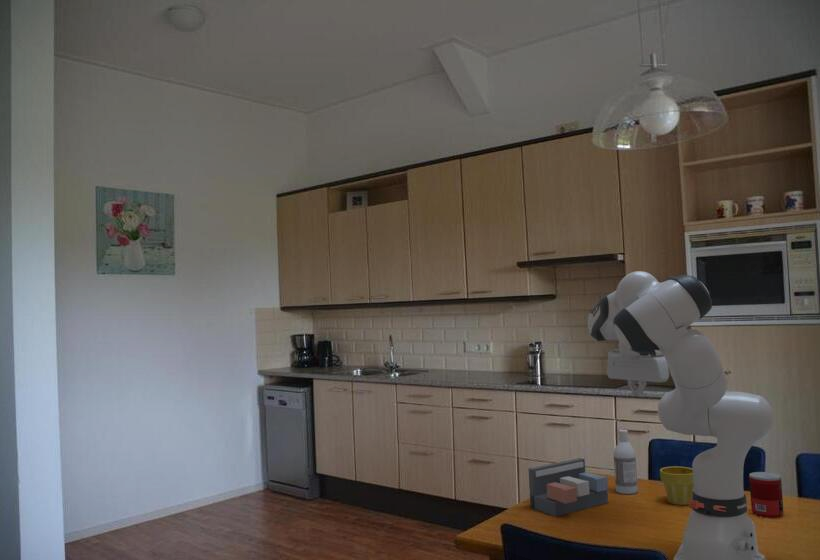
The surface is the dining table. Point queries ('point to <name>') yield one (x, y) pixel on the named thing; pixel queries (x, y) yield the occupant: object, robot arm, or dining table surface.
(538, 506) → the console
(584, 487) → the ivory key
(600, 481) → the slate-blue key
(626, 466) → the bath foam
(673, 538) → the dining table surface
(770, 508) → the canned food
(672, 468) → the plant pot
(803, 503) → the dining table surface
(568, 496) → the terracotta key
